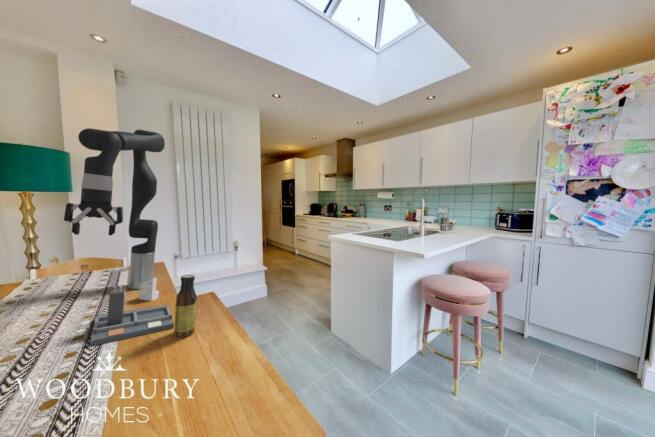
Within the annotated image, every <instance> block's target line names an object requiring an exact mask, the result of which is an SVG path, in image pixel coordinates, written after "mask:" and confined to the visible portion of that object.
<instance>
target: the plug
mask: <svg viewBox="0 0 655 437" xmlns="http://www.w3.org/2000/svg"><path fill="white" fill-rule="evenodd" d="M122 287H123V286H121V285H120V286H119V289H117V286H114V289H112V290H110V292H109V296H108V297H109V298H108V309H107V314H108V320H107V326H113V325H118V324H122V322H123V315H124V311H125V303H126V302H125V301H126V298H125V297H126V288H122Z"/></svg>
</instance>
